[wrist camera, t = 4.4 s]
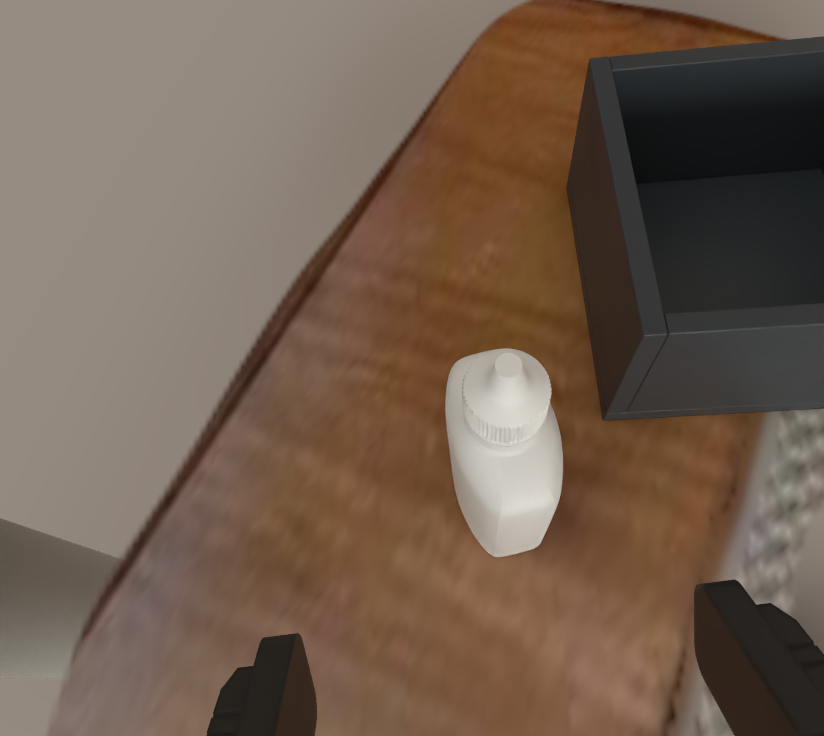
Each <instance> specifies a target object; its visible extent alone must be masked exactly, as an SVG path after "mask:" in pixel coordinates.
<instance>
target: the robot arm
mask: <svg viewBox="0 0 824 736" xmlns="http://www.w3.org/2000/svg"><path fill="white" fill-rule="evenodd" d="M694 645H695V653H696V658H697V662H698V665H699V669H700V671H701V674H702V676H703V678H704V680H705V682H706V684H707V686H708V688H709V690H710V691H711V693H712V695H713V697H714V699H715V701H716V702H717V704H718V706H719V708H720V710H721V712H722V713H723V715H724V717H725V719H726V721H727V723H728V724H729V726H730V728H731V730H732V732H733V734H734V735H735V736H824V654H823V653H822V652H821V650H820V649H819V648H818V647H817V646H815V645H814V643H813V640H812V639H811V638H810V637H809V636H808V634H807V633H806V632H805V630H804V629H803V628H802V627H801V626H800V624H799V623H798V622H797V621H796V620H795V619H794V618H792V617H791V616H789V615H788V614H786V613H785V612H783V611H782V610H780V609H779V608H777V607H776V606H774V605H773V604H771V603H767V604H759V605H756V604H755V603H754V601H753V600H752V599H751V597H750V596H749V595H748V593H747V592H746V591H745V589H744V588H743V586H742V585H741V584H740V583H739V582H738V581H737V580H727V581H719V582H712V583H704V584H697V585H696V587H695V591H694ZM316 721H317V703H316V694H315V689H314V685H313V681H312V677H311V673H310V668H309V664H308V660H307V656H306V652H305V648H304V644H303V641H302V638H301V636H300V634H299V633H296V634H288V635H280V636H272V637H264V638H262V640H261V642H260V644H259V648H258V652H257V655H256V659H255V662H254V666H249V667H241V668H237V669H236V671H235V672H234V673H233V675H232V676H231V677H230V678H229V680H228V681H227V682H226V684H225V685H224V686H223V687H222V689H221V691H220V694H219V697H218V700H217V703H216V706H215V709H214V712H213V718H211V721H210V724H209V727H208V730H207V736H315V729H316Z"/></svg>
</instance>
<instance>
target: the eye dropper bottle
mask: <svg viewBox="0 0 824 736" xmlns="http://www.w3.org/2000/svg"><path fill="white" fill-rule="evenodd" d="M551 390H552V388H551V384H550V379H549V376H548V375H547V372H546V371H545V368H544V367H542V364H540V363H539V361H537V360H536V358H533V356H530V355H529V354H527V353H525V352H521V351H520V350H516V349H514V350H513V349H507V348H506V349H502V348H501V349H495V350H490V351H485V352H481V353H477V354H473V355H470V356H467V357H464V358H462V359H460V360H458V361H457V362H456V363H455V364H454V365H453V367H452V368H451V370H450V374H449V377H448V382H447V388H446V400H445V414H446V426H447V435H448V443H449V451H450V458H451V466H452V474H453V481H454V487H455V492H456V496H457V499H458V503H459V506H460V508H461V511H462V513H463V516H464V518H465V520H466V522H467V524H468V526H469V528H470V529H471V531H472V533H473V534H474V536H475V537H476V539H477V540H478V542H479V543H480V544H481V546H482V547H483V548H484V549H485V550H486V552H487V553H489V554H490V555H492V556H494V557H504V556H509V555H513V554H517V553H521V552H525V551H528V550H532V549H534V548H536V547H537V546H539V545H540V543H541V541H542V539H543V537H544V535H545V533H546V531H547V529H548V526H549V524H550V522H551V520H552V517H553V515H554V513H555V510H556V508H557V505H558V502H559V499H560V495H561V489H562V479H563V452H562V442H561V436H560V431H559V427H558V423H557V420H556V416H555V413H554V411H553V408H552V405H551V403H550V400H551V394H552V393H551Z"/></svg>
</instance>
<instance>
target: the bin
mask: <svg viewBox="0 0 824 736" xmlns="http://www.w3.org/2000/svg"><path fill="white" fill-rule="evenodd" d="M567 193H568V200H569V206H570V212H571V219H572V225H573V232H574V238H575V244H576V251H577V257H578V263H579V270H580V276H581V283H582V289H583V295H584V302H585V308H586V315H587V321H588V327H589V334H590V340H591V346H592V353H593V359H594V366H595V372H596V378H597V385H598V391H599V398H600V404H601V410H602V417H603V420H620V419H638V418H657V417H675V416H693V415H711V414H729V413H747V412H765V411H783V410H801V409H819V408H824V37H814V38H803V39H793V40H782V41H772V42H761V43H750V44H740V45H729V46H718V47H708V48H697V49H687V50H676V51H665V52H655V53H644V54H633V55H623V56H612V57H610V58H609V57H601V58H591V59H589V63H588V69H587V75H586V80H585V86H584V92H583V97H582V103H581V109H580V114H579V120H578V126H577V131H576V137H575V143H574V148H573V154H572V160H571V165H570V171H569V178H568V182H567Z"/></svg>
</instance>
